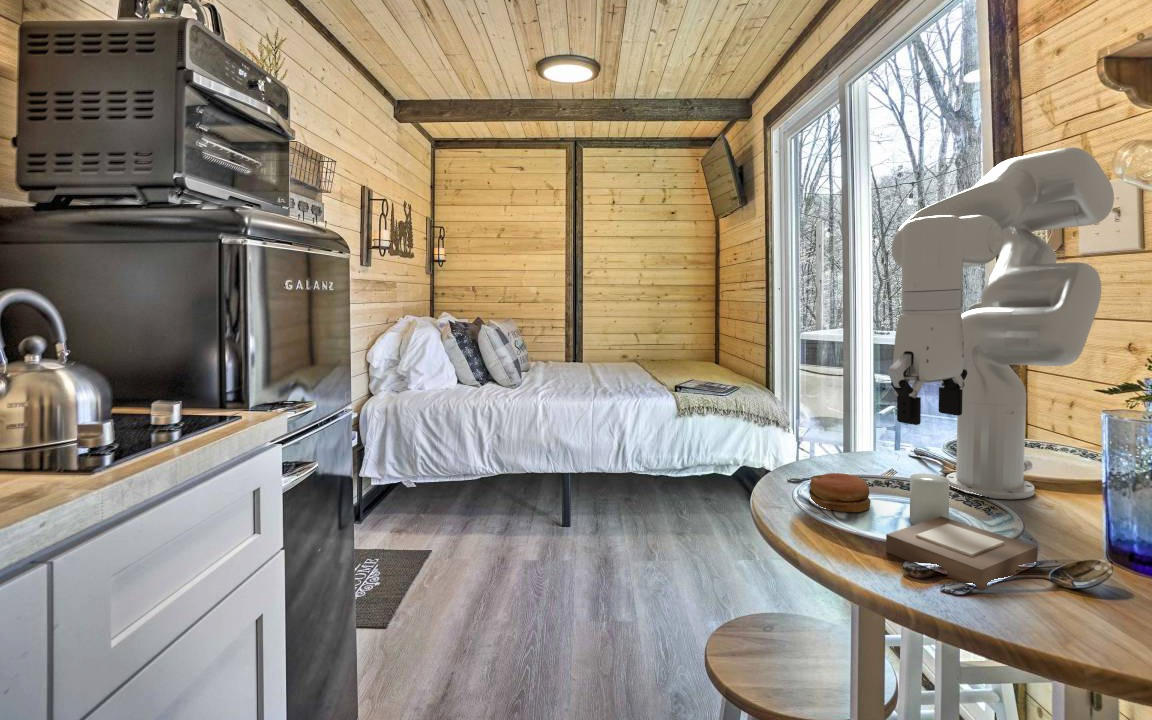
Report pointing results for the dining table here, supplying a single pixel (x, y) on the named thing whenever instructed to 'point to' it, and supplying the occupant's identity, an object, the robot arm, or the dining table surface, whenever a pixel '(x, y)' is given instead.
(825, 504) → the burger
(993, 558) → the walnut base
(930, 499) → the ceramic cylinder
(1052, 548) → the dining table surface
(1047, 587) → the dining table surface
